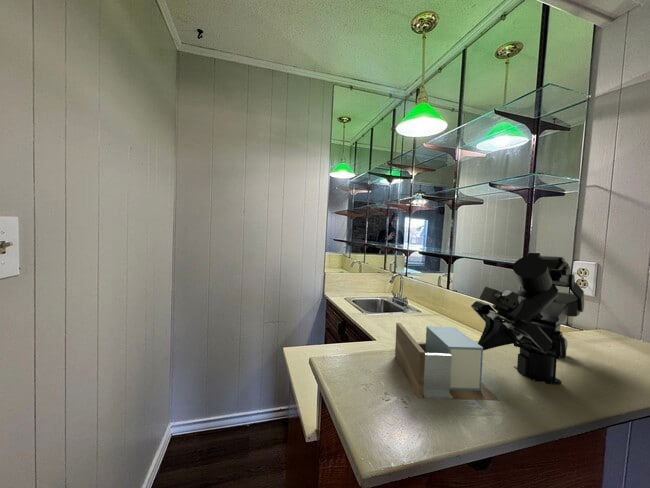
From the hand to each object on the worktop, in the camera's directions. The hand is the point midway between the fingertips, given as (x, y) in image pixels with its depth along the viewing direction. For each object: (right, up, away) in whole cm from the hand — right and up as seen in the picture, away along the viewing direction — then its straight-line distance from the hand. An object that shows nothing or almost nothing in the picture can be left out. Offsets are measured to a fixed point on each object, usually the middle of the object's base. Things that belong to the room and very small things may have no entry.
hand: (478, 348), depth 60 cm
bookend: (-13, -6, -7) cm, 16 cm away
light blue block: (-6, -6, +1) cm, 9 cm away
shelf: (-9, -7, 0) cm, 11 cm away
